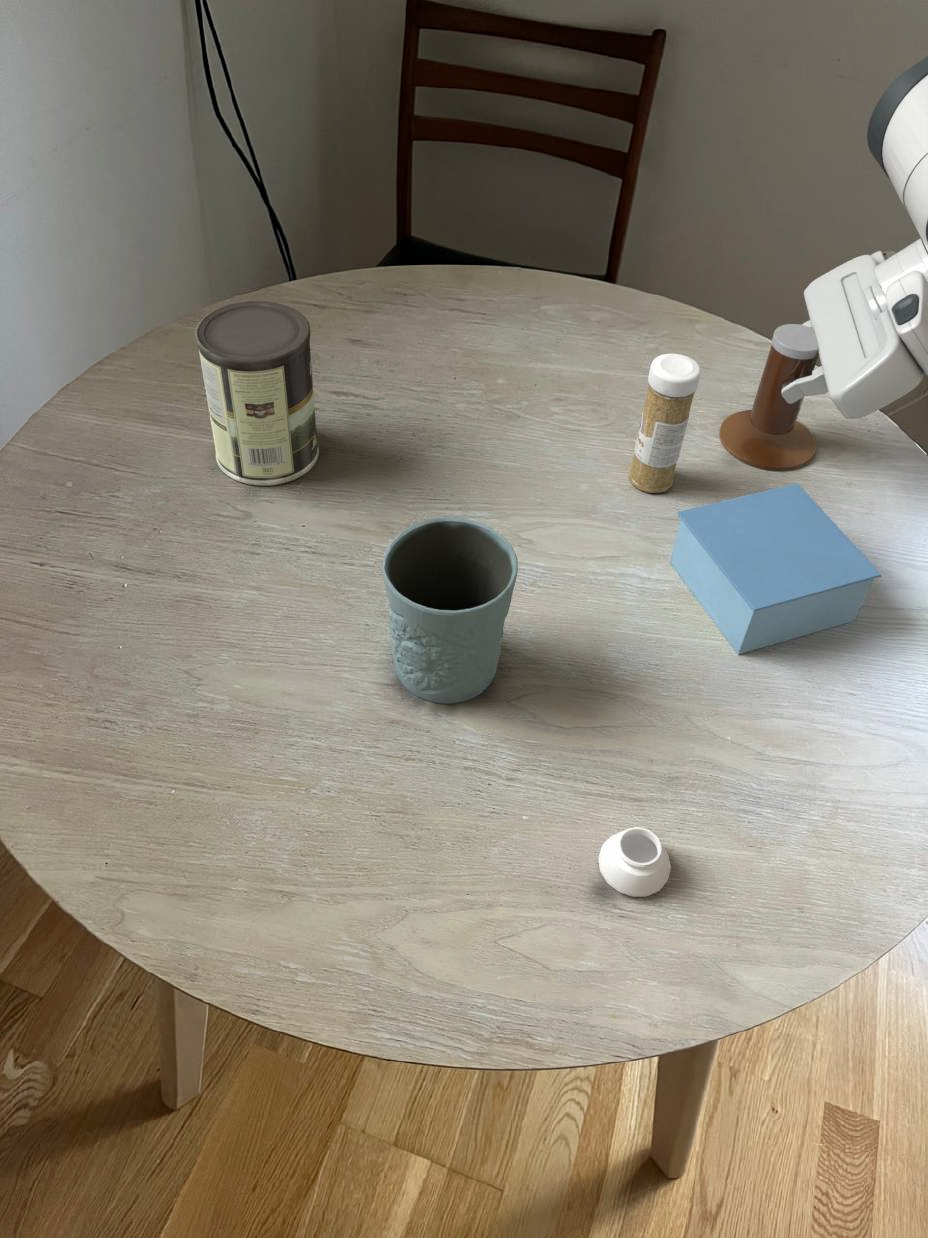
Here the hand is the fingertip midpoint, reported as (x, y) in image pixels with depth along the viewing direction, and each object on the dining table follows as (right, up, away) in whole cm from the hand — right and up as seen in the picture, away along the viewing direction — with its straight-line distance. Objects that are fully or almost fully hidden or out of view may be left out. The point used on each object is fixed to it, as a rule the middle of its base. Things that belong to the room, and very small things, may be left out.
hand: (780, 377), depth 104 cm
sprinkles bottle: (-13, -10, 0) cm, 17 cm away
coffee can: (-51, -8, 0) cm, 52 cm away
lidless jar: (-20, -42, -30) cm, 55 cm away
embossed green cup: (-33, -28, -18) cm, 47 cm away
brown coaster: (0, -5, +5) cm, 8 cm away
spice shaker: (0, -4, +4) cm, 5 cm away
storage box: (-5, -22, -10) cm, 24 cm away
